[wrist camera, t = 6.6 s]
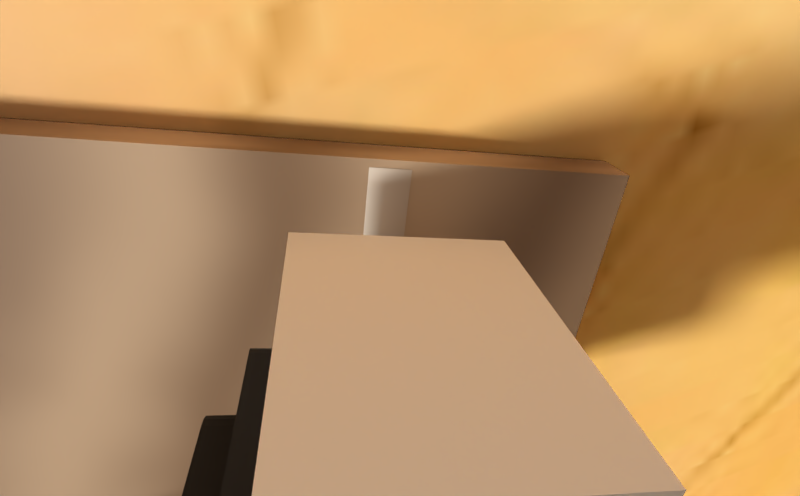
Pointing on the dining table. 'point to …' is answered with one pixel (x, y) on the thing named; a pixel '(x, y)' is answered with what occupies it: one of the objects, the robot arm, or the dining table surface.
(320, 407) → the white rectangular block
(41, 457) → the board
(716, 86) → the dining table surface
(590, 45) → the dining table surface
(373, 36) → the dining table surface
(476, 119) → the dining table surface
